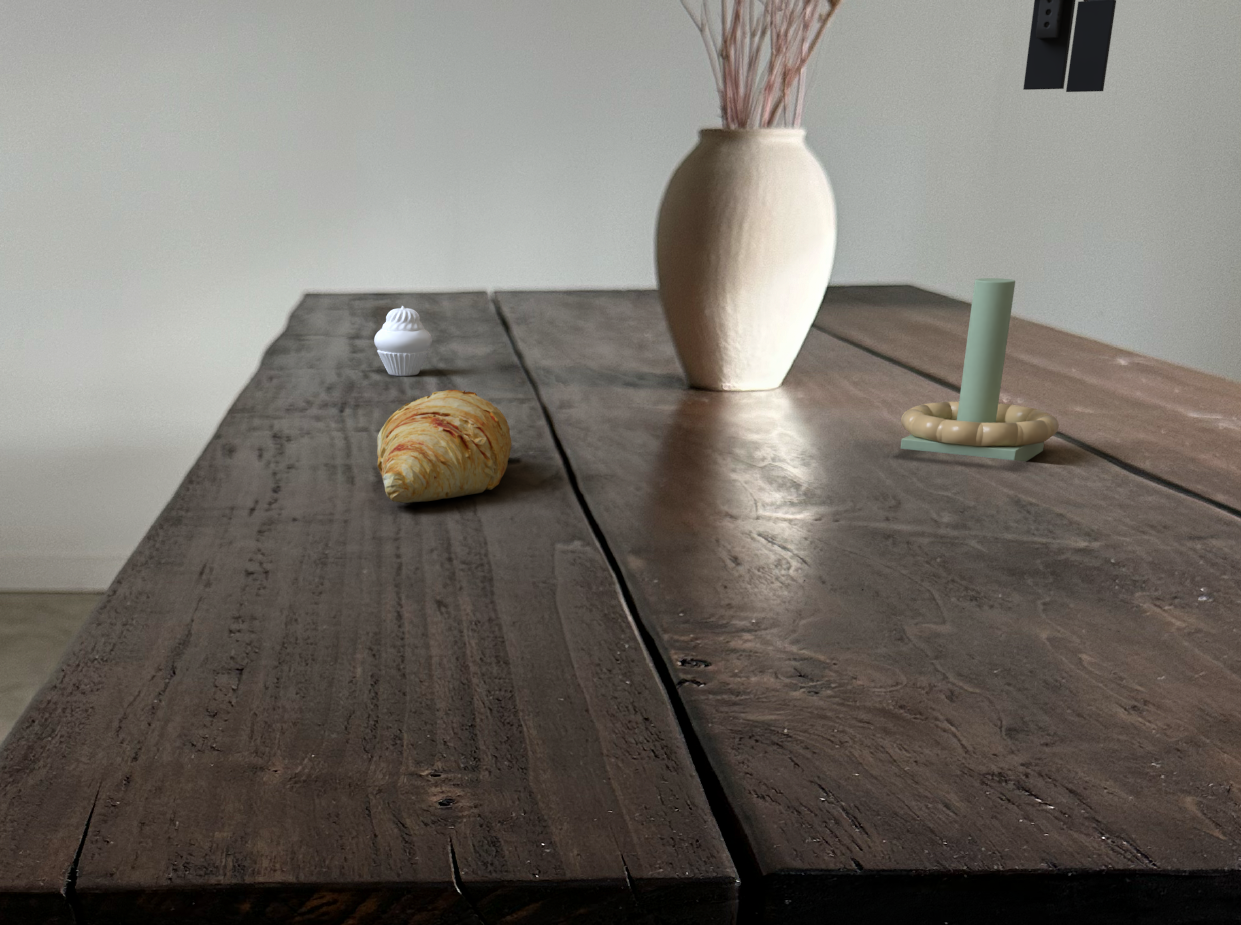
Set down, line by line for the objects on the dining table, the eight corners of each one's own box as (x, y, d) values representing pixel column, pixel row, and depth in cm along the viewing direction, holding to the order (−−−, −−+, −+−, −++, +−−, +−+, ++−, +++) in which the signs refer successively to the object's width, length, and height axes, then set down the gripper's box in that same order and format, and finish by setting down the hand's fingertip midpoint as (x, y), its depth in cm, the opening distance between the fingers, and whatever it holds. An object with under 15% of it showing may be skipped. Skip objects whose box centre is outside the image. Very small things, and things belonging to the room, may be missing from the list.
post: (1043, 451, 131) (1069, 278, 125) (1013, 469, 124) (1039, 287, 119) (933, 440, 135) (954, 272, 130) (899, 457, 129) (919, 281, 123)
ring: (1068, 430, 131) (1072, 407, 131) (1035, 453, 122) (1039, 430, 121) (925, 417, 137) (928, 395, 136) (883, 439, 128) (885, 416, 127)
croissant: (435, 565, 111) (487, 466, 107) (313, 489, 112) (361, 389, 108) (515, 495, 129) (563, 409, 125) (411, 431, 130) (455, 343, 126)
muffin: (431, 378, 168) (431, 308, 166) (373, 378, 168) (372, 308, 166) (432, 369, 174) (432, 302, 171) (376, 369, 174) (375, 302, 171)
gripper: (1091, -202, 126) (1052, 93, 134) (1010, -259, 107) (970, 89, 115) (1194, -213, 122) (1147, 91, 131) (1128, -274, 103) (1079, 86, 112)
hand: (1064, 91), depth 123 cm, fingers open, 13 cm apart
